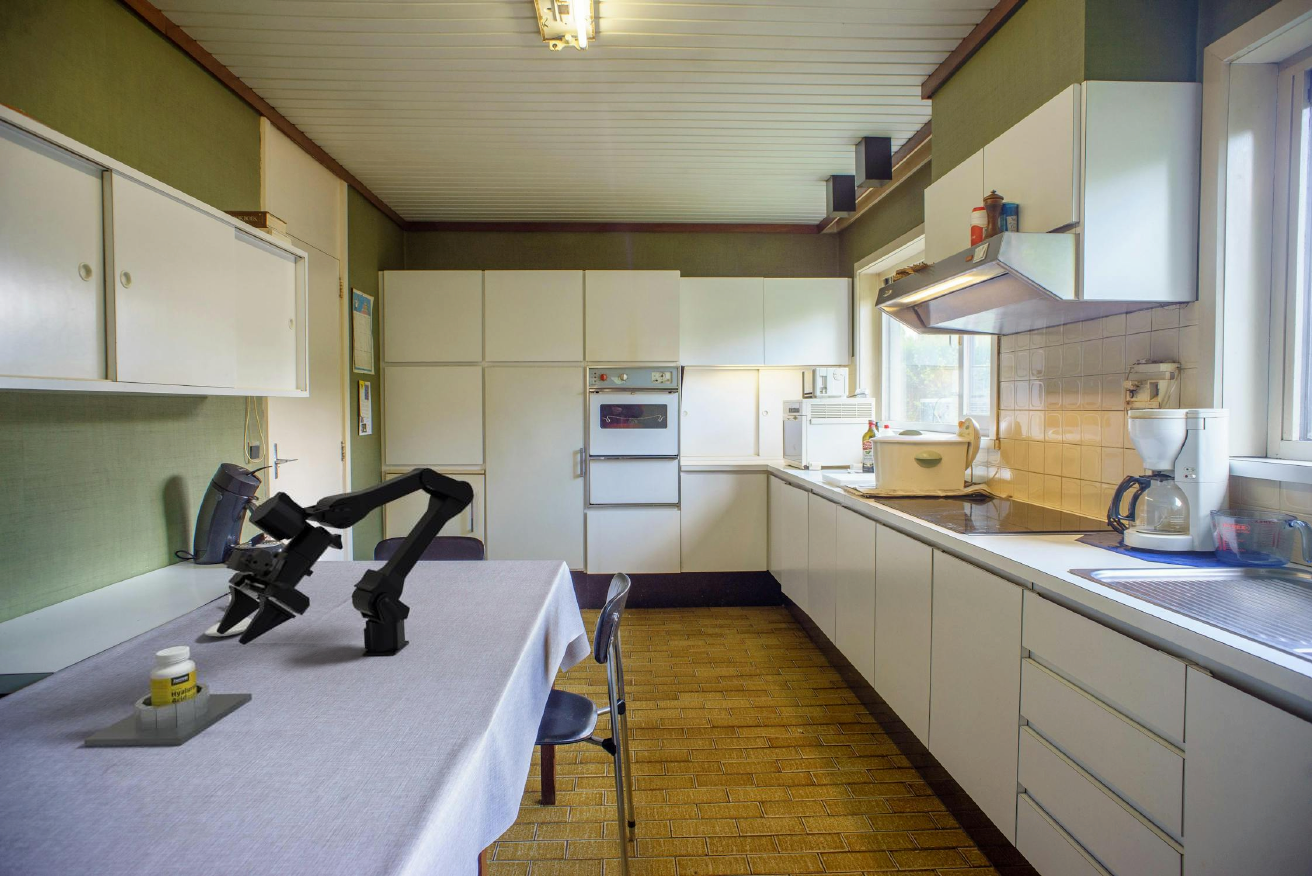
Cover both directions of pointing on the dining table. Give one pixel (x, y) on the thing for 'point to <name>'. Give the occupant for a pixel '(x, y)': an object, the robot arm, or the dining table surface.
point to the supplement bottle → (173, 676)
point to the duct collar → (169, 720)
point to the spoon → (235, 630)
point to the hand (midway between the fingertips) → (229, 638)
